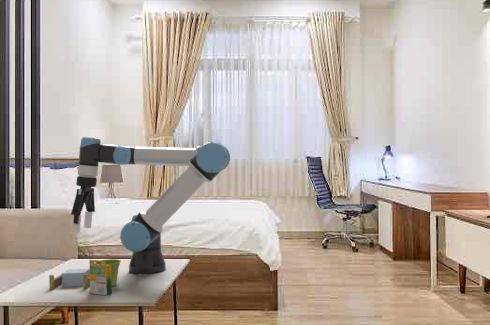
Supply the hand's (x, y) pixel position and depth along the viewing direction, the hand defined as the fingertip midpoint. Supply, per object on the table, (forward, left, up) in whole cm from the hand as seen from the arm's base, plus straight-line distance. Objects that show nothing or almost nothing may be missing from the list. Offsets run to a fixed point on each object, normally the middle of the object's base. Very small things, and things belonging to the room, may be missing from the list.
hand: (81, 230), depth 194 cm
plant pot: (-14, +13, -19) cm, 27 cm away
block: (-1, +9, -19) cm, 21 cm away
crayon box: (-15, +25, -19) cm, 35 cm away
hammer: (-1, +11, -19) cm, 22 cm away
